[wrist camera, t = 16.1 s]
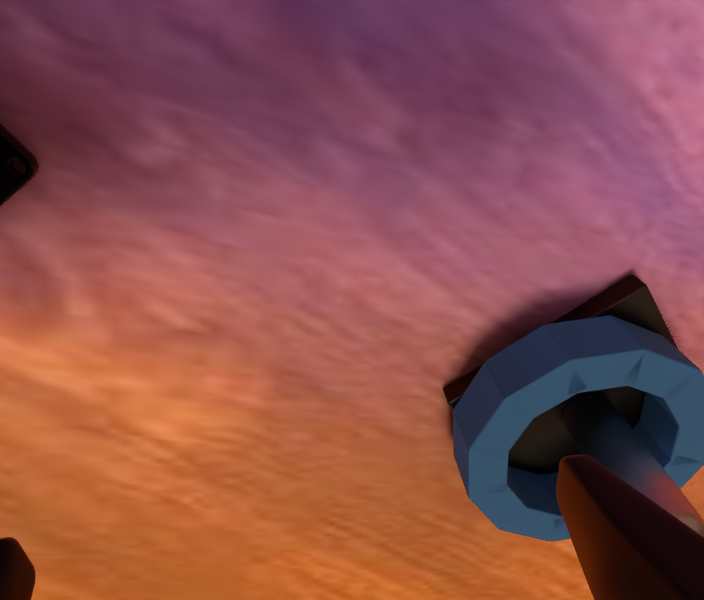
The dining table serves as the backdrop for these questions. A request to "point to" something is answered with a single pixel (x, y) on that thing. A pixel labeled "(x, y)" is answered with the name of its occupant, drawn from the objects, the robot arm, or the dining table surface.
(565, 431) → the peg stand
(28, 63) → the dining table surface
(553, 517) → the blue ring
